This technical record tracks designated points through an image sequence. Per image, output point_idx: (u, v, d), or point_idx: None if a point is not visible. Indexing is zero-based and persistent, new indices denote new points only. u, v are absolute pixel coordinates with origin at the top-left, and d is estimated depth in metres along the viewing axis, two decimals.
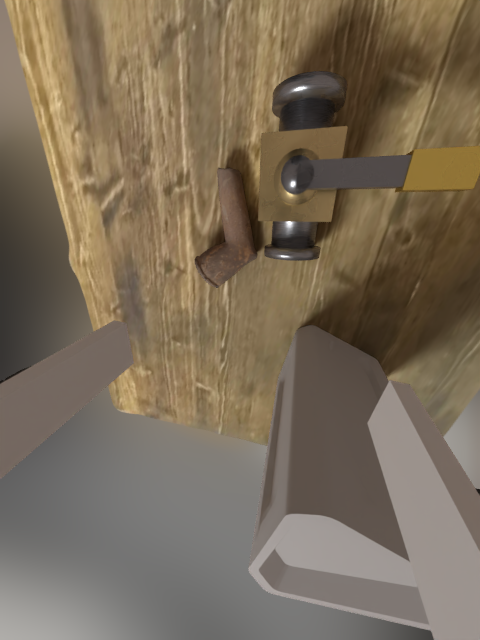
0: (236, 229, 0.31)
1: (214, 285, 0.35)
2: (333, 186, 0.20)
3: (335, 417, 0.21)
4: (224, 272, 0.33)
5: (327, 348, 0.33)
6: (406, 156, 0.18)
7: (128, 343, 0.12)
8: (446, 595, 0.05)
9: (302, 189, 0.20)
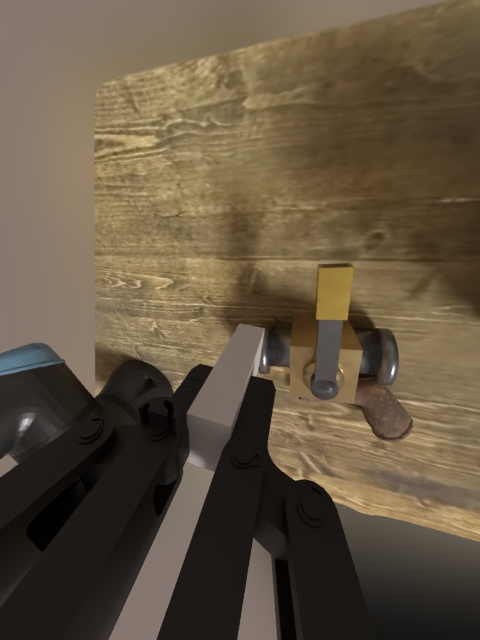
0: None
1: (410, 428, 0.32)
2: (336, 366, 0.23)
3: None
4: (396, 417, 0.32)
5: None
6: (319, 322, 0.21)
7: None
8: None
9: (336, 386, 0.24)
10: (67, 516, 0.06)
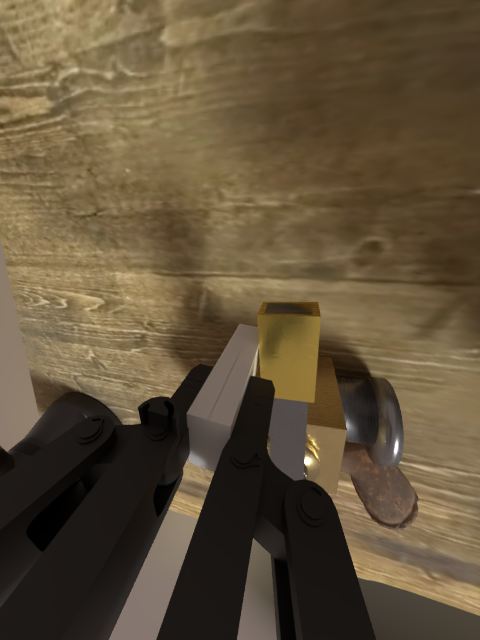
0: None
1: (415, 511, 0.23)
2: (302, 463, 0.14)
3: None
4: (396, 497, 0.23)
5: None
6: None
7: None
8: None
9: None
10: (67, 516, 0.06)
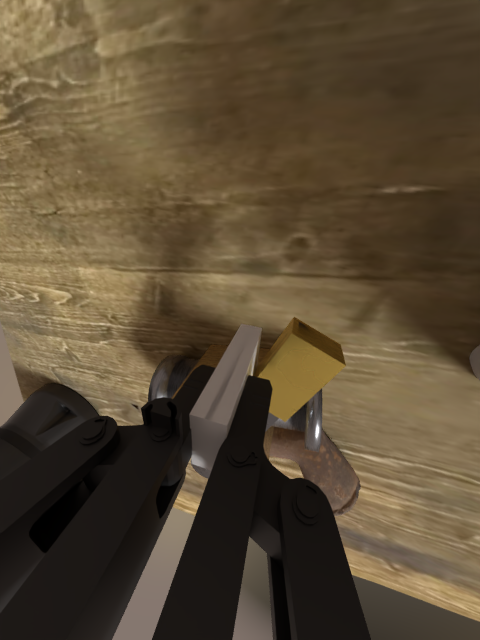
0: (282, 452, 0.26)
1: (355, 499, 0.24)
2: None
3: None
4: (336, 484, 0.24)
5: None
6: None
7: None
8: None
9: None
10: (70, 517, 0.06)
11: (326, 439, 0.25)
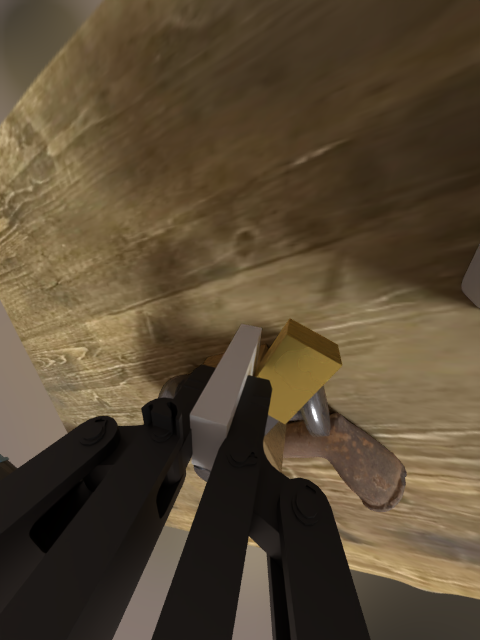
0: (306, 450, 0.24)
1: (401, 487, 0.21)
2: None
3: None
4: (373, 474, 0.21)
5: None
6: None
7: None
8: None
9: None
10: (70, 517, 0.06)
11: (349, 426, 0.23)
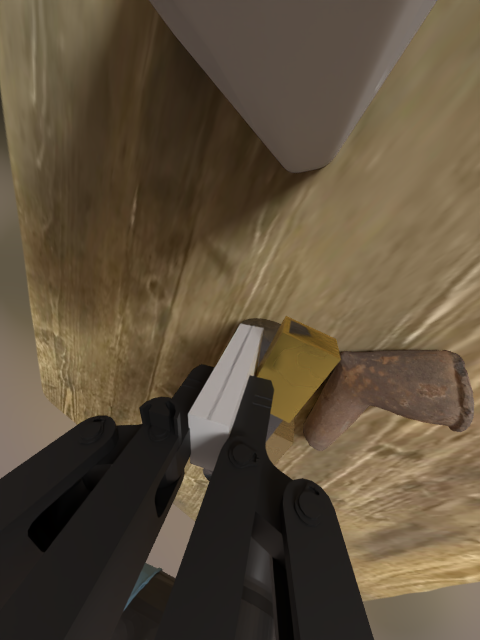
0: (343, 409, 0.21)
1: (463, 380, 0.15)
2: None
3: None
4: (415, 387, 0.16)
5: (251, 119, 0.11)
6: None
7: None
8: None
9: None
10: (68, 516, 0.06)
11: (359, 355, 0.20)
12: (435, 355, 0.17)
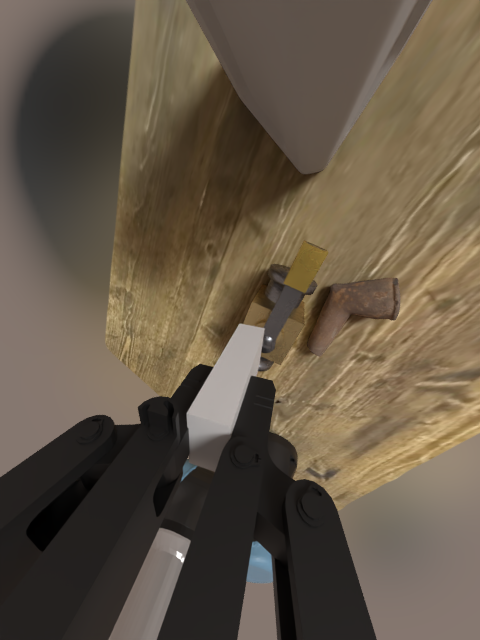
0: (333, 319, 0.34)
1: (395, 287, 0.29)
2: (281, 328, 0.28)
3: (281, 102, 0.13)
4: (372, 294, 0.30)
5: (287, 149, 0.24)
6: (285, 287, 0.26)
7: None
8: None
9: (273, 344, 0.29)
10: (67, 516, 0.06)
11: (342, 284, 0.33)
12: (384, 279, 0.31)
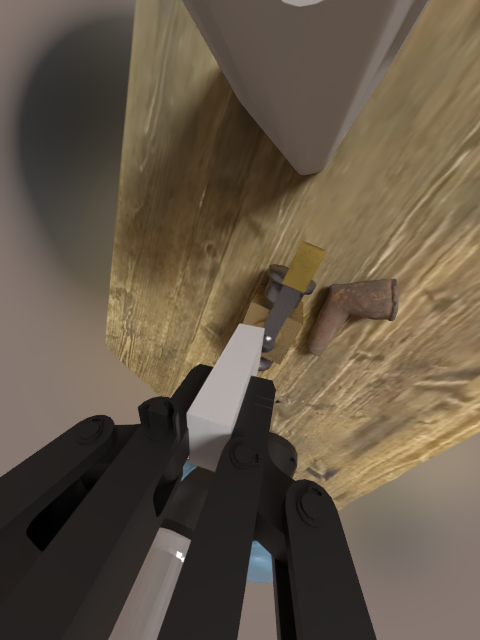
0: (332, 319, 0.34)
1: (394, 288, 0.29)
2: (280, 327, 0.28)
3: (278, 104, 0.13)
4: (370, 295, 0.30)
5: (286, 151, 0.25)
6: (283, 286, 0.26)
7: None
8: None
9: (273, 343, 0.30)
10: (67, 516, 0.06)
11: (341, 285, 0.33)
12: (383, 280, 0.31)
